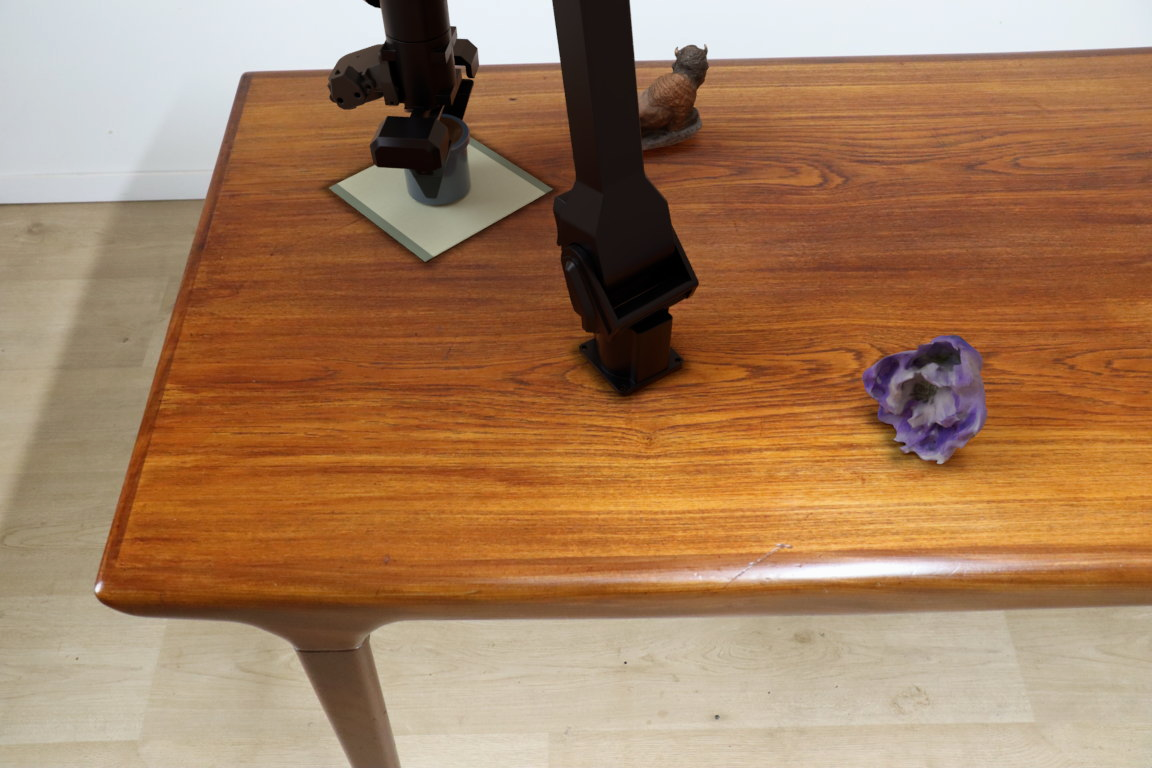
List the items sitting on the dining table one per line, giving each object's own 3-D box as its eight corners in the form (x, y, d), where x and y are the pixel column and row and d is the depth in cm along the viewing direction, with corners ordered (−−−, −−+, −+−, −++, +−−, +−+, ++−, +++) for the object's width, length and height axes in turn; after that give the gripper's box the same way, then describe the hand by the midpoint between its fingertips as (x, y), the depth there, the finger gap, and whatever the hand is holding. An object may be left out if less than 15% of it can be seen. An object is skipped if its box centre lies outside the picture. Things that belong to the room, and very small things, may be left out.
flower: (938, 290, 74) (926, 321, 66) (1022, 366, 73) (1020, 407, 65) (854, 368, 79) (832, 406, 70) (932, 440, 78) (919, 488, 69)
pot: (488, 191, 94) (483, 138, 90) (423, 216, 91) (414, 163, 87) (453, 157, 98) (447, 104, 94) (390, 180, 96) (380, 127, 91)
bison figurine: (602, 170, 97) (603, 81, 90) (582, 134, 102) (582, 45, 94) (711, 150, 99) (721, 61, 92) (687, 115, 104) (695, 28, 96)
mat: (552, 189, 95) (552, 189, 95) (425, 262, 88) (425, 261, 88) (453, 126, 103) (453, 126, 103) (328, 188, 96) (328, 187, 96)
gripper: (356, -24, 90) (383, 121, 101) (294, 77, 77) (333, 230, 89) (472, -20, 89) (486, 127, 100) (428, 84, 76) (450, 238, 88)
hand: (439, 176), depth 94 cm, fingers closed on pot, 6 cm apart
